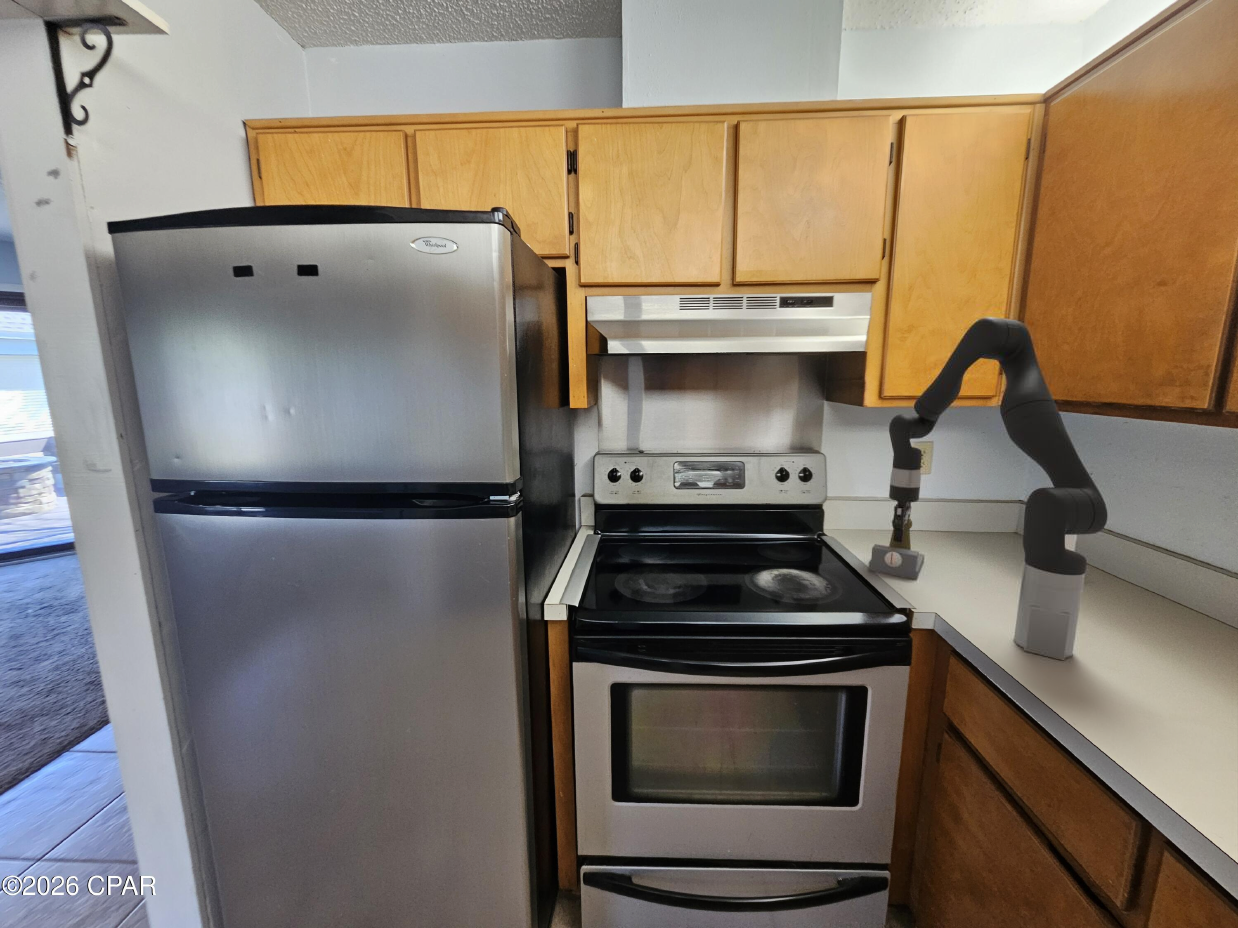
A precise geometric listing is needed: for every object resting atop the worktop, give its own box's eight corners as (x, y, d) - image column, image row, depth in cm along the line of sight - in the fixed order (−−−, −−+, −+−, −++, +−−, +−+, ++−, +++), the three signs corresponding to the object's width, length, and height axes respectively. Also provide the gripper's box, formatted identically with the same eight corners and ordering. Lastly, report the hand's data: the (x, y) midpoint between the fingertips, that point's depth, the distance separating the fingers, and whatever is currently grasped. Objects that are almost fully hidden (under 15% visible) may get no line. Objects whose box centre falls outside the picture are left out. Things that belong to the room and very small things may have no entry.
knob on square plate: (916, 580, 136) (918, 556, 134) (868, 570, 143) (869, 547, 141) (923, 562, 149) (925, 540, 147) (879, 554, 156) (880, 533, 154)
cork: (887, 554, 146) (890, 518, 144) (887, 548, 151) (890, 513, 149) (911, 558, 143) (914, 521, 141) (910, 551, 148) (914, 515, 146)
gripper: (916, 489, 135) (911, 546, 138) (923, 480, 147) (918, 533, 149) (885, 486, 140) (881, 541, 143) (894, 478, 151) (889, 529, 154)
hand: (900, 537), depth 146 cm, fingers open, 8 cm apart
